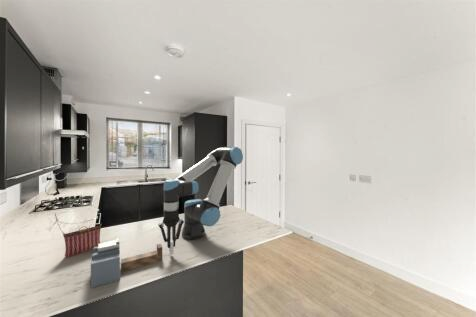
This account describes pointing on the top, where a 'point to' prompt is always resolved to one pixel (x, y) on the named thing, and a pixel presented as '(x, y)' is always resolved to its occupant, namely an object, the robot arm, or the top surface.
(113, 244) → the keeper
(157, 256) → the wooden bar
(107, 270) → the block
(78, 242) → the handbag
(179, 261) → the top surface
